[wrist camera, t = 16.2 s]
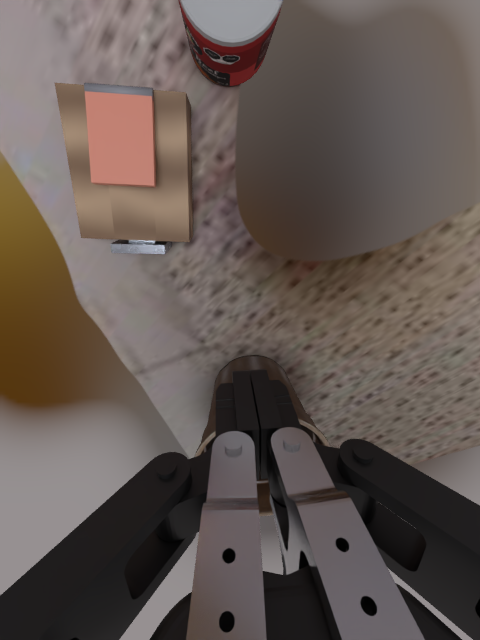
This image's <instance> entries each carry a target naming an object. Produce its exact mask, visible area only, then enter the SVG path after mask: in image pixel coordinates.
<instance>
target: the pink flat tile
mask: <svg viewBox="0 0 480 640" xmlns="http://www.w3.org/2000/svg"><path fill="white" fill-rule="evenodd" d="M84 90H85V101H86V115H87V129H88V143H89V158H90V172H91V183H93V184H97V185H117V186H137V187H156V163H155V124H154V92H153V88H147V87H133V86H119V85H106V84H92V83H84Z"/></svg>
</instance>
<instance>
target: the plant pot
mask: <svg viewBox="0 0 480 640" xmlns="http://www.w3.org/2000/svg"><path fill="white" fill-rule="evenodd" d="M258 369H266V370H267V373H268V377H269V380H280V381H281V382H282V383H283V384H284V385H285V386H286V387H287V389H288V392H289V395H290V398H291V400H292V404H293V406H294V409H295V411H296V414H297V417H298V419H299V422H300V425H301V428H302V430H303V431H304V432H306V433H307V434H308V435H309V436H310V438H311V439H312V441H313V442H315V443H317V444H320V445H323V446H328V447H330V445H329V443H328V441H327V439H326V438H325V436H324V435H323V434H322V432H321V431H320V430H319V429H318V428H316V426H315V424H314V422H313V420H312V419H311V418H310V416H309V415H308V414H307V413H306V412H305V410H304V408H303V406H302V404H301V402H300V401H299V399H298V397H297V395H296V393H295V391H294V389H293V387H292V385H291V383H290V381H289V379H288V377H287V375H286V373H285V371H284V370H283V368H281V367H280V366H279V365H278V364H277V363H275V362H274V361H273V360H271V359H269V358H266V357H262V356H245V357H241V358H237V359H235V360H233V361H231V362H229V364H228V365H227V366H226V367H225V368H224V369H222V370H221V371H220V372H219V374H218V376H217V378H216V381H215V387H214V393H213V398H212V404H211V409H210V414H209V419H208V424H207V426H206V428H205V430H204V433H203V436H202V441H201V444H200V446H199V448H198V449H197V452H196V454H195V457H197V456H199V455H201V454H203V453H205V452H206V451H207V450H209V449H210V448H211V446H212V445H213V443H214V441H215V435H216V390H217V388H218V387H219V385H220V384H221V383H232V371H242V370H249V371H250V370H258ZM257 499H258V504H259V516H267V515H273V512H272V508H271V504H270V487H269V481H268V479H261V476H260V469H259V480H257Z"/></svg>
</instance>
